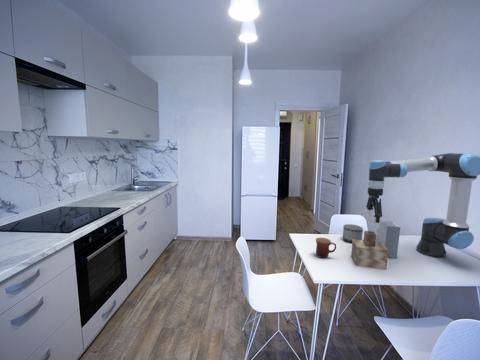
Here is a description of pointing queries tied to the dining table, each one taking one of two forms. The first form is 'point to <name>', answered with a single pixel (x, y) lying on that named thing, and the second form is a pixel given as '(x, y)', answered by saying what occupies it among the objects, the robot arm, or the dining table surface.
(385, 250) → the lid
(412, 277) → the dining table surface
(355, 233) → the planter
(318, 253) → the mug
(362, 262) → the light wooden box
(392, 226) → the hard drive box
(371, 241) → the walnut block
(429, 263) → the dining table surface
